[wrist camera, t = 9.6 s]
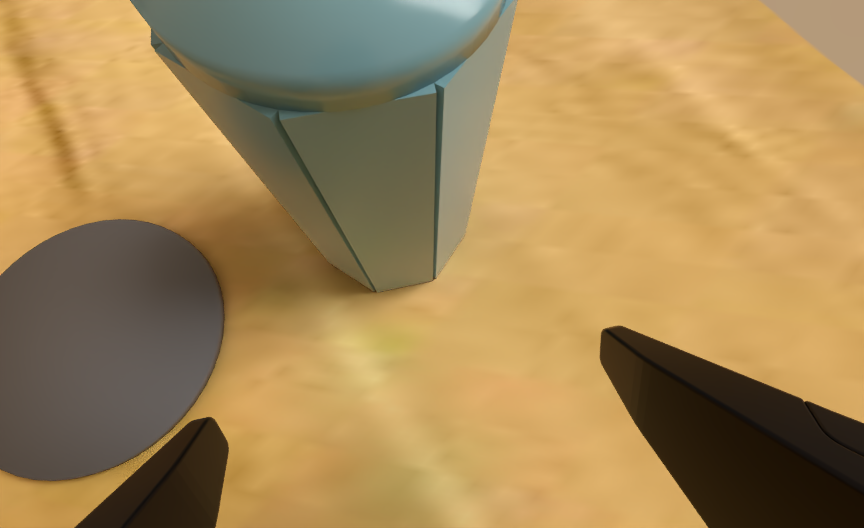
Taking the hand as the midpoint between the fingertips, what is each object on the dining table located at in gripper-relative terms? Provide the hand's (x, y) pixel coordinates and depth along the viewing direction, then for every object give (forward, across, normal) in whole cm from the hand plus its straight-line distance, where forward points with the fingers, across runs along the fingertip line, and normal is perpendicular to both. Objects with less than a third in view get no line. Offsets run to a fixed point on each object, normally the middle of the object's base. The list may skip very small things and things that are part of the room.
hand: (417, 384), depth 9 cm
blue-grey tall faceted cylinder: (+11, 0, 0) cm, 11 cm away
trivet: (+9, +14, +2) cm, 16 cm away
